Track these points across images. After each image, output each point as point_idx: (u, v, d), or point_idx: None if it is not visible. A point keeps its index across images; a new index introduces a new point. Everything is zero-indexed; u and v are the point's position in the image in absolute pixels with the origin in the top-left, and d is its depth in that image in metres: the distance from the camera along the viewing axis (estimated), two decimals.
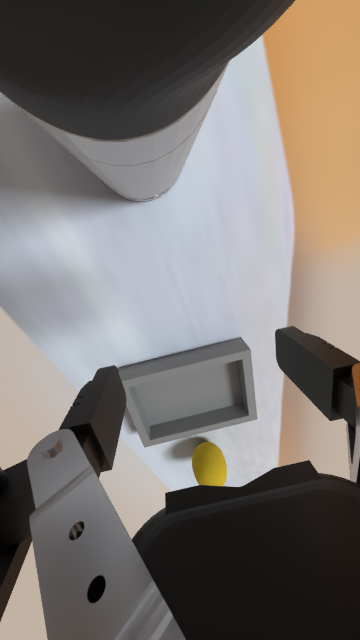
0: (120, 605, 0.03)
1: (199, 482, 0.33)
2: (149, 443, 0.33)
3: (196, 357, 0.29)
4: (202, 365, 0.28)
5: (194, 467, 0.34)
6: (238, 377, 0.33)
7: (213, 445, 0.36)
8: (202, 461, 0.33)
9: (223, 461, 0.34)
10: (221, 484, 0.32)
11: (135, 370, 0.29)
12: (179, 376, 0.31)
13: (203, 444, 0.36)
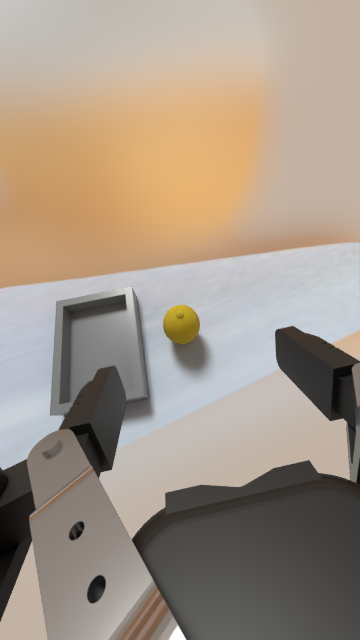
0: (120, 605, 0.03)
1: (180, 332, 0.29)
2: (139, 389, 0.29)
3: None
4: (58, 336, 0.34)
5: (175, 339, 0.31)
6: (100, 307, 0.38)
7: None
8: (165, 331, 0.31)
9: None
10: (177, 308, 0.30)
11: None
12: (84, 358, 0.35)
13: None
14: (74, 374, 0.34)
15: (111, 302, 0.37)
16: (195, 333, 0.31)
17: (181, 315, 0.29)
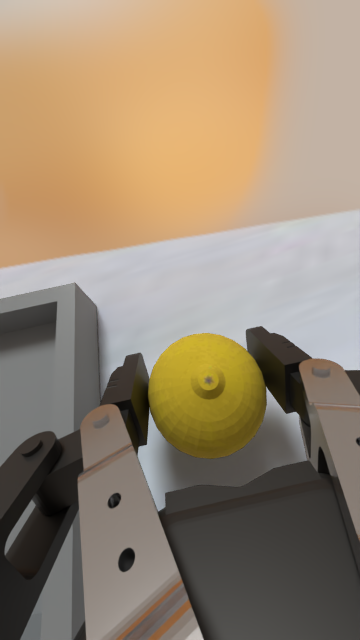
0: (146, 583, 0.03)
1: (209, 446, 0.07)
2: None
3: None
4: None
5: None
6: (9, 333, 0.17)
7: None
8: None
9: None
10: (196, 351, 0.08)
11: None
12: None
13: None
14: None
15: (32, 321, 0.16)
16: None
17: (213, 385, 0.07)
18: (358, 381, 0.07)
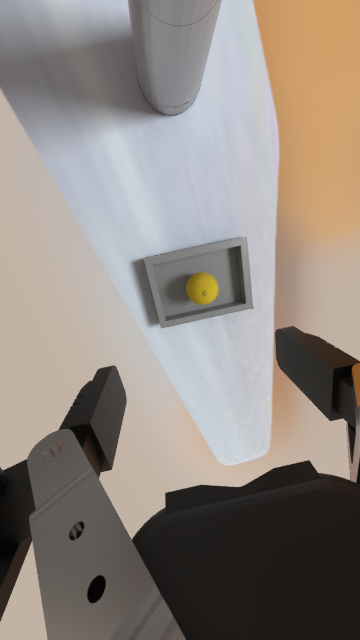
0: (121, 607, 0.03)
1: (192, 291, 0.35)
2: (165, 324, 0.40)
3: (205, 245, 0.37)
4: (209, 248, 0.36)
5: (188, 284, 0.36)
6: (237, 273, 0.41)
7: None
8: (195, 276, 0.35)
9: (215, 279, 0.36)
10: (212, 290, 0.34)
11: (157, 255, 0.38)
12: (191, 268, 0.40)
13: None
14: (177, 262, 0.39)
15: (241, 286, 0.41)
16: (193, 301, 0.37)
17: (205, 294, 0.34)
18: None
